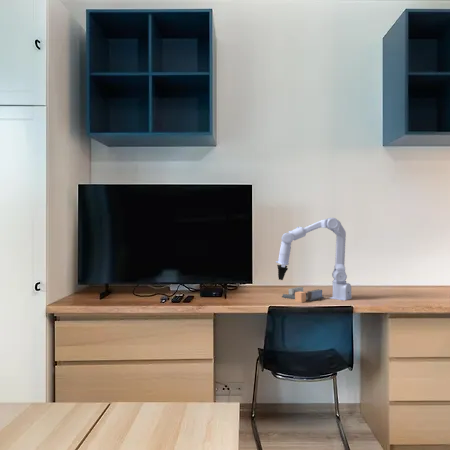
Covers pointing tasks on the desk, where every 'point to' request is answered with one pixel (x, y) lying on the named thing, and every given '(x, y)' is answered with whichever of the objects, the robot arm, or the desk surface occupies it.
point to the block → (300, 297)
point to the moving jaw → (295, 290)
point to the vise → (308, 295)
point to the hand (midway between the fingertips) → (280, 278)
